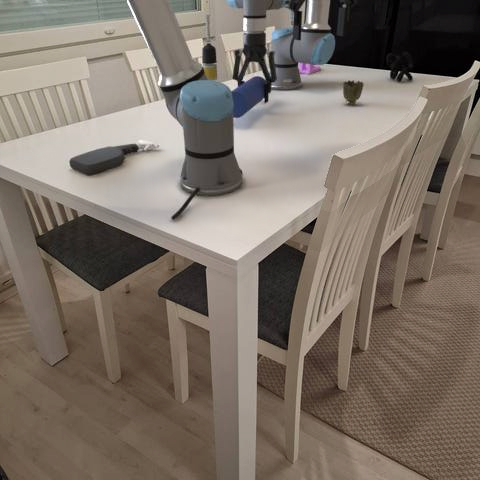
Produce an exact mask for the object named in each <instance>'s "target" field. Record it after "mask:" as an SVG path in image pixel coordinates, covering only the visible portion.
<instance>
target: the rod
mask: <svg viewBox="0 0 480 480" xmlns="http://www.w3.org/2000/svg"><path fill="white" fill-rule="evenodd" d="M265 83H267V82H266V79H265V77H262V76H260V75H256V76H252V77H251V78H249V79H247V80H246V81H245V83H243V84H242V85H240V86H239V87H238V86H237V87H235V88H234V89H233V90H231V92H232V98H233V103H234V108H233V119H239V118H242V117H243V116H245V115H246V114H247V113H248V112H250V110H252V109H253V108H254V107H255V106H257V105H258V104H259V103H260V102H261V101H263V100H264V91H265Z"/></svg>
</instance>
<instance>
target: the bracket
mask: <svg viewBox="0 0 480 480" xmlns="http://www.w3.org/2000/svg"><path fill="white" fill-rule="evenodd" d="M298 69H299V73H300V74H304V75H305V74H306V75H311V74H314V73H316V72H319V71H321V65H312V64H306V63H299V67H298Z"/></svg>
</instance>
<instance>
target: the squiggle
mask: <svg viewBox="0 0 480 480" xmlns="http://www.w3.org/2000/svg"><path fill="white" fill-rule="evenodd" d="M401 57H402V59H401ZM391 59H392V60H391ZM393 60H394V61H393ZM385 61H386V64H387V67H390V68H391V70H390V72H389V78H390V79H391V80H395V79H396V81H397V82H399V83H400V82H402V81H403V79H404V76H406V78H407V80H408V81H412V80H413V79H414V77H413V75H412V74H411V73H410V72H409V71H410V70H412V69H413V68H414V64H413V61H412V57H411V54H410V53H409V52H408V51H403V53H402V54H401V55H396V54H394V53H392V52H390V53H387V55H386V57H385ZM406 62H407V65H408V66H407V67H405V66H404V65H405V64H406ZM400 70H401V71H400Z"/></svg>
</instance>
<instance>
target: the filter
mask: <svg viewBox="0 0 480 480" xmlns="http://www.w3.org/2000/svg"><path fill="white" fill-rule="evenodd" d="M210 17H211V14H204V18H205V27H206V29H205V30H206V31H205V33H206V39H207V40H206V42H207V43H206V45H204V46H202V49H201V50H202V51H201V52H202V54H201V55H202V57H201V58H202V61H201V64H202V66H203V69H204V71H205V74H206V76H207V79H208V80H211V81H216V80H218V64H216V63H218V61H217V48H216V47H215V46H214V45H212V43H210V42H211V40H210V39H211V31H210V29H211V28H210Z"/></svg>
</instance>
